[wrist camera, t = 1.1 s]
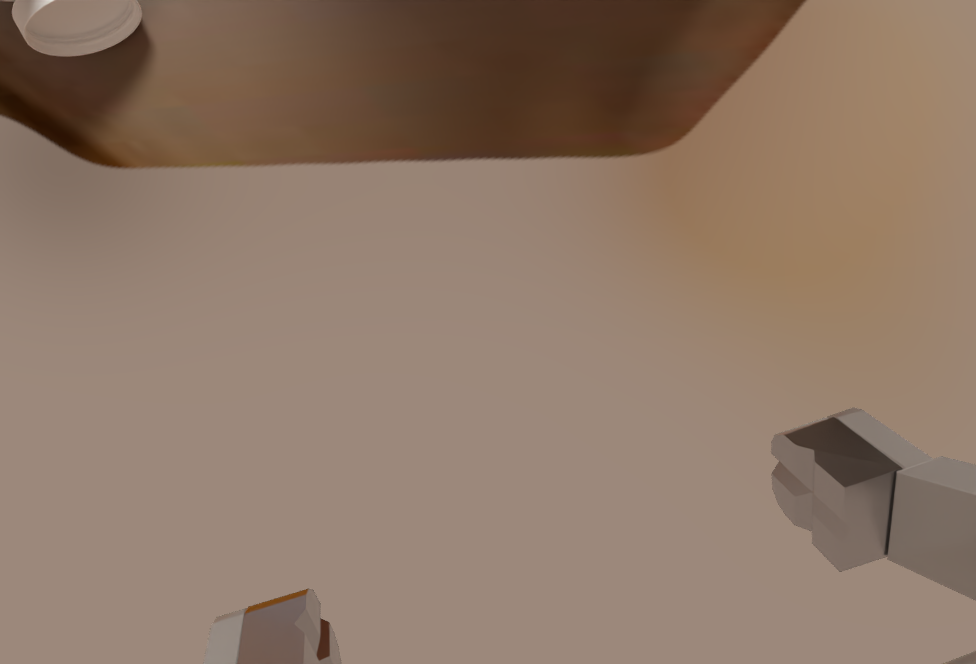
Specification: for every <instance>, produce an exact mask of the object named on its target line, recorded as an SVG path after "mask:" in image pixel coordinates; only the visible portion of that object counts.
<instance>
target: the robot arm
mask: <svg viewBox="0 0 976 664" xmlns="http://www.w3.org/2000/svg"><path fill="white" fill-rule="evenodd" d="M771 450H772V454H773V455H774V456H775V457H776V458H777V459H778V460H779V462H778V464H777V466H776V467H775V469H774V470H773V472H772V488H773V491H774V494H775V497H776V500H777V502H778V504H779V506H780V508H781V509H782V510H783V512H784V514H785V515H786V516H787V517H788V518H789V519H790V520H791V521H792V523H793V524H794V525H796V526H799V527H802V528H804V529H807V530H809V531H812V544H813V545H814V546H815V547H816V548H817V549H818V550H819V551H820V552H821V553H822V554H823V555H824V556H825V557H826V558H827V559H828V560H829V561H830V562H831V563H832V564H833V565H834V567H836V569H837V570H838V571H839V572H842V571H845V570H848V569H851V568H854V567H857V566H860V565H863V564H866V563H869V562H872V561H875V560H879V559H881V558H885V557H888V558H887V559H888V560H890V561H892V562H894V563H896V564H898V565H901V566H903V567H905V568H907V569H909V570H911V571H914V572H916V573H918V574H920V575H922V576H924V577H926V578H929V579H931V580H933V581H935V582H937V583H939V584H941V585H944V586H946V587H948V588H950V589H952V590H954V591H956V592H958V593H961V594H963V595H965V596H967V597H969V598H971V599H973V600H976V465H975V464H970V463H966V462H962V461H958V460H954V459H950V458H946V457H942V456H941V457H938V458H935V459H933V458H931V457H930V456H928V455H927V454H925V453H924V452H923V451H921V450H920V449H918V448H917V447H915V446H914V445H913V444H911V443H910V442H908V441H907V440H905V439H904V438H902V437H901V436H900V435H898V434H897V433H895V432H894V431H892V430H891V429H889V428H888V427H887V426H885V425H884V424H882V423H881V422H879V421H878V420H876V419H875V418H874V417H872V416H871V415H869V414H868V413H866V412H865V411H863V410H862V409H857V408H851V409H848V410H845V411H842V412H839V413H836V414H833V415H830V416H828V417H827V418H822V419H819V420H816V421H814V422H811V423H808V424H805V425H802V426H799V427H796V428H793V429H790V430H787V431H784V432H781V433H778V434H776V435H774V438H773V440H772V449H771ZM203 664H341V658H340V652H339V646H338V644H337V640H336V637H335V634H334V631H333V629H332V627H331V625H330V623H329V622H328V621H325V620H323V619H321V618H320V602H319V600H318V598H317V596H316V595H315V592H314V590H312V589H306V590H302V591H299V592H296V593H292V594H289V595H286V596H282V597H279V598H276V599H273V600H269V601H266V602H262V603H259V604H256V605H253V606H249V607H248V608H246V609H242V610H239V611H235V612H232V613H229V614H225V615H222V616H219V617H216V619H215V621H214V622H213V624H212V625H211V628H210V633H209V638H208V643H207V648H206V653H205V658H204V663H203ZM943 664H976V651H975V652H972V653H970V654H967V655H964V656H962V657H959V658H956V659H954V660H951V661H949V662H946V663H943Z"/></svg>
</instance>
